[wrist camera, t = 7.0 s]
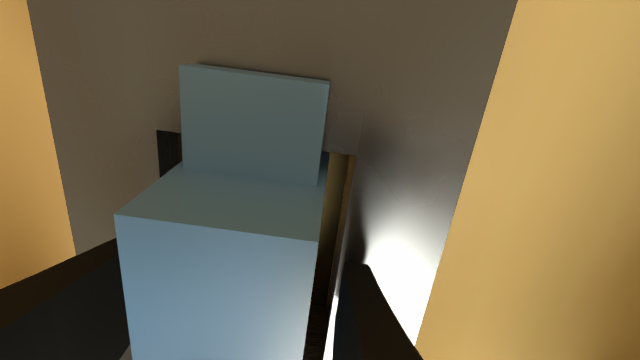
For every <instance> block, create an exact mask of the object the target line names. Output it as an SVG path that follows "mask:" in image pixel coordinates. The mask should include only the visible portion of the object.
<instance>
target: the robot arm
mask: <svg viewBox="0 0 640 360" xmlns="http://www.w3.org/2000/svg"><path fill="white" fill-rule="evenodd" d="M129 345H130V337H129V329H128V321H127V314H126V306H125V299H124V291H123V283H122V276H121V268H120V260H119V253H118V245H117V238H114V239H112V240H109V241H107V242H105V243H103V244H100V245H98V246H96V247H94V248H92V249H90V250H87V251H85V252H83V253H81V254H79V255H77V256H74V257H72V258H70V259H68V260H66V261H64V262H61V263H59V264H57V265H55V266H53V267H50V268H48V269H46V270H44V271H42V272H40V273H37V274H35V275H33V276H30V277H28V278H26V279H23V280H21V281H19V282H16V283H14V284H12V285H9V286H7V287H4V288H2V289H0V360H120V358H121V357H122V355H123V354H124V352H125V351H126V350H127V348H128V347H129ZM332 360H423V358H422V357H421V355H420V354H419V352H418V351H417V349H416V348H415V347H414V345H413V343H412V342H411V340H410V339H409V337H408V336H407V334H406V332H405V331H404V329H403V327H402V326H401V324H400V322H399V321H398V319H397V317H396V316H395V314H394V312H393V311H392V309H391V307H390V305H389V303H388V302H387V300H386V298H385V296H384V294H383V292H382V290H381V288H380V286H379V284H378V282H377V280H376V278H375V276H374V274H373V272H372V269H371V268H370V267H369V265H368V264H361V263H353V262H346V261H345V262H344V268H343V274H342V280H341V286H340V292H339V298H338V304H337V309H336V315H335V322H334V337H333V353H332Z"/></svg>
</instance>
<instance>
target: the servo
mask: <svg viewBox="0 0 640 360" xmlns="http://www.w3.org/2000/svg"><path fill="white" fill-rule="evenodd" d="M179 82H180V107H181V133H182V158H183V161H181V162H180V163H179V164H177V165H176V166H175V167H174V168H172V169H171V170H170V171H168V172H167V173H166V174H165V175H163V176H162V177H161V178H159V179H158V180H157V181H156V182H154V183H153V184H152V185H150V186H149V187H148V188H147V189H145V190H144V191H143V192H141V193H140V194H139V195H138V196H136V197H135V198H134V199H132V200H131V201H130V202H129V203H127V204H126V205H125V206H123V207H122V208H121V209H120V210H118V211H117V212H116V213H114V214H113V215H114V222H115V230H116V238H117V245H118V253H119V260H120V268H121V276H122V283H123V291H124V299H125V306H126V314H127V321H128V329H129V337H130V344H131V352H132V359H133V360H303V352H304V345H305V338H306V331H307V324H308V316H309V309H310V302H311V295H312V287H313V280H314V273H315V266H316V258H317V251H318V244H319V236H320V228H321V220H322V212H323V204H324V195H325V187H326V179H327V171H328V163H329V155H330V152H325V151H322V144H323V136H324V128H325V120H326V112H327V104H328V96H329V88H330V81H325V80H317V79H309V78H302V77H294V76H286V75H279V74H271V73H264V72H256V71H248V70H241V69H233V68H225V67H218V66H210V65H203V64H195V63H189V64H183V65H179Z"/></svg>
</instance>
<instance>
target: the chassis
mask: <svg viewBox="0 0 640 360" xmlns="http://www.w3.org/2000/svg"><path fill="white" fill-rule="evenodd" d="M517 1H518V0H27V5H28V10H29V15H30V20H31V25H32V30H33V35H34V41H35V46H36V51H37V56H38V61H39V66H40V71H41V76H42V82H43V87H44V92H45V97H46V102H47V107H48V112H49V117H50V123H51V128H52V133H53V138H54V143H55V148H56V153H57V159H58V164H59V169H60V174H61V179H62V184H63V189H64V194H65V200H66V205H67V210H68V215H69V220H70V225H71V230H72V235H73V241H74V246H75V251H76V256H77V255H79V254H81V253H83V252H85V251H87V250H90V249H92V248H94V247H96V246H98V245H100V244H103V243H105V242H107V241H109V240H112V239H114V238H116V230H115V222H114V215H113V214H114V213H116V212H117V211H118V210H120V209H121V208H122V207H123V206H125V205H126V204H127V203H129V202H130V201H131V200H132V199H134V198H135V197H136V196H138V195H139V194H140V193H141V192H143V191H144V190H145V189H147V188H148V187H149V186H150V185H152V184H153V183H154V182H156V181H157V180H158V179H159V178H161V177H162V176H163V175H165V174H166V173H167V172H168V171H170V170H171V169H172V168H174V167H175V166H176V165H177V164H179V163H180V162H181V161H183V158H182V133H181V107H180V82H179V65H183V64H189V63H195V64H203V65H210V66H218V67H225V68H233V69H241V70H248V71H256V72H264V73H271V74H279V75H286V76H294V77H302V78H309V79H317V80H325V81H330V88H329V96H328V104H327V112H326V120H325V128H324V136H323V144H322V151H325V152H333V153H341V154H349V159H348V166H347V172H346V179H345V185H344V192H343V198H342V205H341V211H340V218H339V224H338V231H337V237H336V244H335V250H334V257H333V263H332V270H331V276H330V283H329V289H328V296H327V302H326V306H318V305H311V304H310V309H309V316H308V324H307V331H306V338H305V345H304V352H303V360H332V353H333V337H334V322H335V315H336V309H337V304H338V298H339V292H340V286H341V280H342V274H343V268H344V262H345V261H346V262H353V263H361V264H368V265H369V267H370V268H371V269H372V272H373V274H374V276H375V278H376V280H377V282H378V284H379V286H380V288H381V290H382V292H383V294H384V296H385V298H386V300H387V302H388V303H389V305H390V307H391V309H392V311H393V312H394V314H395V316H396V317H397V319H398V321H399V322H400V324H401V326H402V327H403V329H404V331H405V332H406V334H407V336H408V337H409V339H410V340H411V342H412V343H413V345H415V342H416V339H417V335H418V332H419V329H420V325H421V322H422V319H423V315H424V312H425V309H426V305H427V302H428V298H429V295H430V292H431V288H432V285H433V282H434V278H435V275H436V272H437V268H438V265H439V262H440V258H441V255H442V252H443V248H444V245H445V242H446V238H447V235H448V232H449V228H450V225H451V222H452V218H453V215H454V212H455V208H456V205H457V202H458V198H459V195H460V192H461V188H462V185H463V182H464V178H465V175H466V172H467V168H468V165H469V162H470V158H471V155H472V151H473V148H474V145H475V141H476V138H477V135H478V131H479V128H480V125H481V121H482V118H483V115H484V111H485V108H486V105H487V101H488V98H489V95H490V91H491V88H492V85H493V81H494V78H495V75H496V71H497V68H498V65H499V61H500V58H501V55H502V51H503V48H504V45H505V41H506V38H507V35H508V31H509V28H510V25H511V21H512V18H513V15H514V11H515V8H516V5H517ZM120 360H133V359H132V352H131V344H130V345H129V347H128V348H127V350H126V351H125V352H124V354H123V355H122V357H121V358H120Z"/></svg>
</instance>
